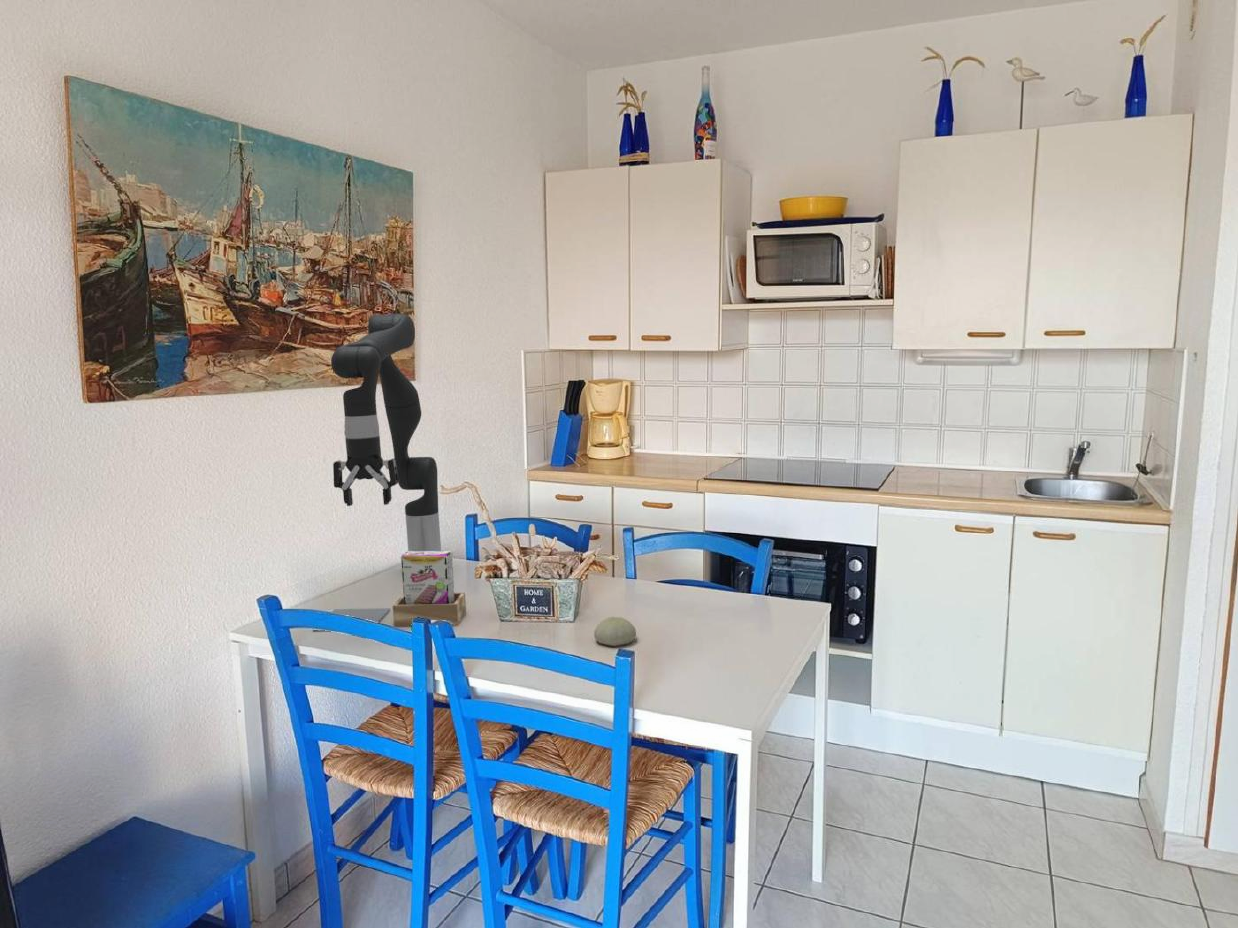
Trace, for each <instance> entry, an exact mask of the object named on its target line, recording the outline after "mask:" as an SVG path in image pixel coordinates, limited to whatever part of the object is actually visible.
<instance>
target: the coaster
mask: <svg viewBox="0 0 1238 928" xmlns="http://www.w3.org/2000/svg"><path fill="white" fill-rule="evenodd" d="M331 612H332V613H336V614H342V615H349V616H354V617H358V618H360V619H368V620H372V621H375V622H378V624H379V623H381V621H382V620H383V619H384V618H385V617H386V616H387V615H388V614H389V613H390V612H391V607H387V608H384V607H383V608H381V607H380V608H378V607H377V608H336V609H333V610H332V611H331ZM312 632H319V631H318V630H313V629H312Z"/></svg>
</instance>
